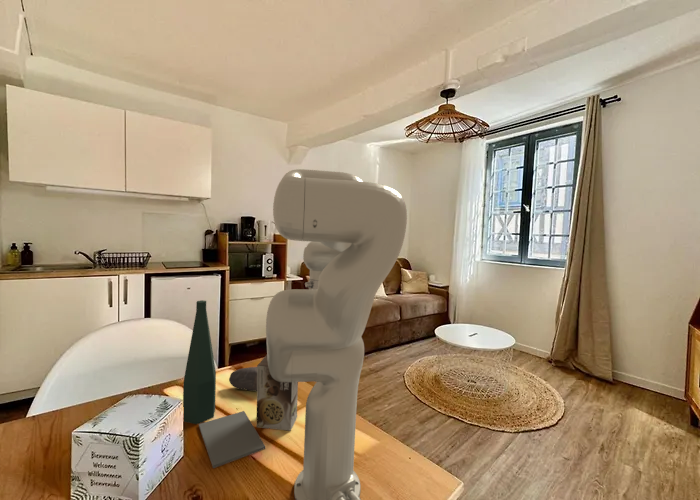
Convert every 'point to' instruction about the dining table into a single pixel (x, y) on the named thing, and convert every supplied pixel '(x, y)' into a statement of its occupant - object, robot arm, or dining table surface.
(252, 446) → the mat
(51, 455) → the dining table surface
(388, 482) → the dining table surface
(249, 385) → the perforated stone tool
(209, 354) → the bottle
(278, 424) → the coffee box
